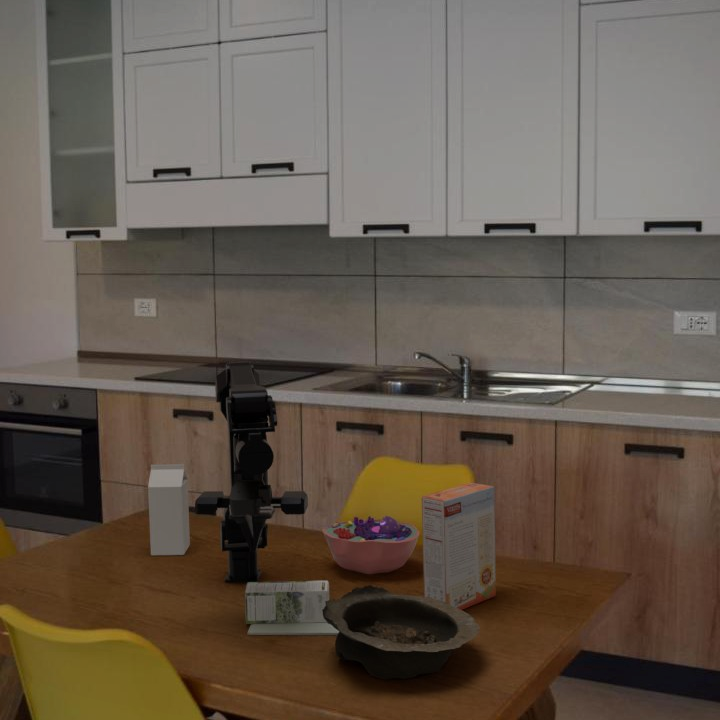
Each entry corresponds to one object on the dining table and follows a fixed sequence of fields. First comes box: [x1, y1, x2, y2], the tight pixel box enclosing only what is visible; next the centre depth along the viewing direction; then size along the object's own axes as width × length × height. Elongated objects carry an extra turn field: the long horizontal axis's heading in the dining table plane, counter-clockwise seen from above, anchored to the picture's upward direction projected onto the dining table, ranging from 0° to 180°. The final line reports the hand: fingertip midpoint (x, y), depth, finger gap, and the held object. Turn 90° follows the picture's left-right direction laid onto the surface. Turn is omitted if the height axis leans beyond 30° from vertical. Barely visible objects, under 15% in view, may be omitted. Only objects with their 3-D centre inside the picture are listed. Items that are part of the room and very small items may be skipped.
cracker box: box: [421, 481, 497, 611], centre depth 187 cm, size 14×6×21 cm, turn 135°
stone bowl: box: [322, 585, 481, 680], centre depth 162 cm, size 25×25×9 cm
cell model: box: [321, 515, 421, 575], centre depth 207 cm, size 17×20×11 cm
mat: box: [247, 622, 339, 636], centre depth 180 cm, size 12×16×1 cm
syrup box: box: [244, 580, 330, 625], centre depth 180 cm, size 6×6×14 cm
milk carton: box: [147, 463, 191, 556], centre depth 222 cm, size 7×7×19 cm
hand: (253, 551), depth 179 cm, fingers closed
